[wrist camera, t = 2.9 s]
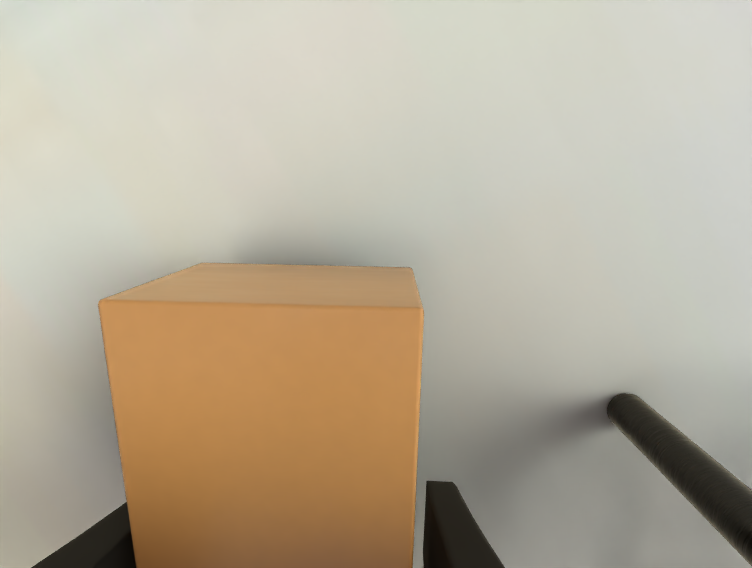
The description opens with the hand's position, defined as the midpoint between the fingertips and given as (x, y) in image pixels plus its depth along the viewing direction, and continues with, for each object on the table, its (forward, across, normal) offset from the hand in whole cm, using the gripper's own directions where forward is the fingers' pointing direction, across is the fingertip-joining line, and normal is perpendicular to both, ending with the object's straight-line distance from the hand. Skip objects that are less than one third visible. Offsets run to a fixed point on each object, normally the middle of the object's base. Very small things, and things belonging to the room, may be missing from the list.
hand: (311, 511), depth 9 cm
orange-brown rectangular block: (+1, 0, 0) cm, 1 cm away
